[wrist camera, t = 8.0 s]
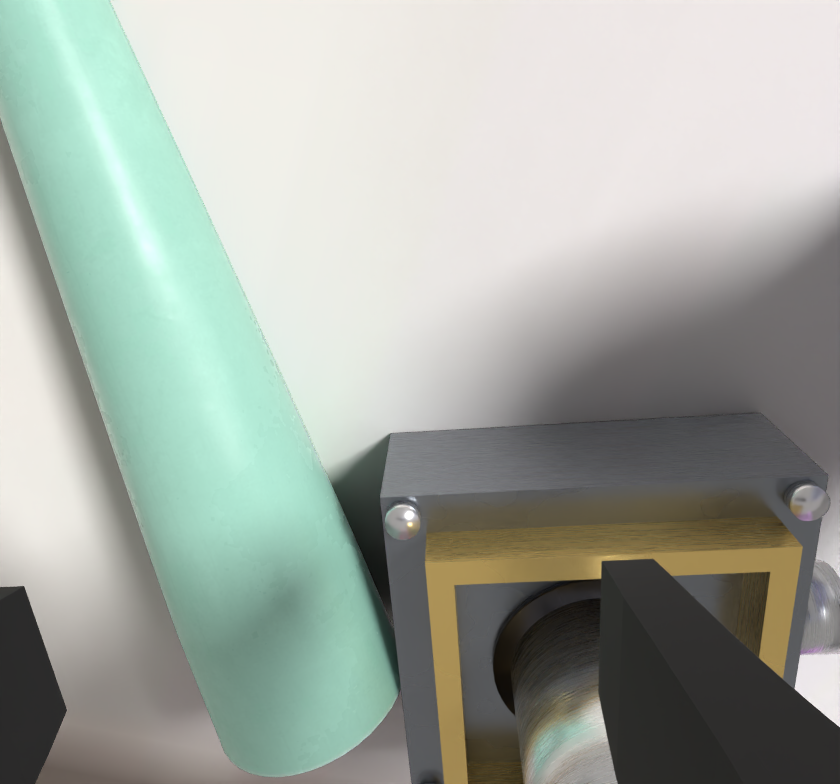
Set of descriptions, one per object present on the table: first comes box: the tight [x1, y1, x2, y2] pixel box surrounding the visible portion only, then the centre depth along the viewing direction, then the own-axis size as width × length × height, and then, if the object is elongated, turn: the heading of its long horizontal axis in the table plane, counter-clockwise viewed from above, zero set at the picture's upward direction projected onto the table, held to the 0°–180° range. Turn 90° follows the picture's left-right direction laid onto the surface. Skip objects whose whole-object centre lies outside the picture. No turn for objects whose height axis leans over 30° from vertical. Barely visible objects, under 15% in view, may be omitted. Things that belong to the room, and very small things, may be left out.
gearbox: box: [380, 413, 840, 784], centre depth 18 cm, size 12×10×5 cm
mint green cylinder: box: [0, 0, 401, 777], centre depth 15 cm, size 5×6×27 cm
